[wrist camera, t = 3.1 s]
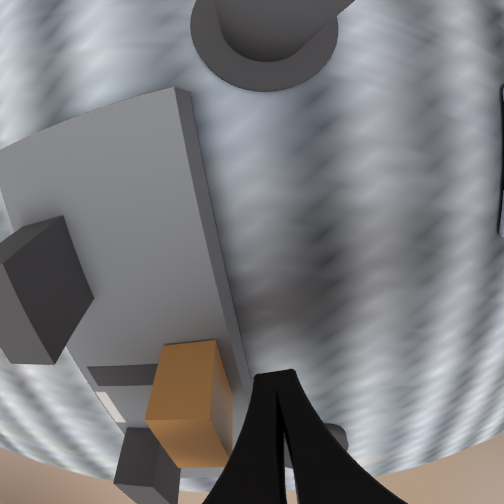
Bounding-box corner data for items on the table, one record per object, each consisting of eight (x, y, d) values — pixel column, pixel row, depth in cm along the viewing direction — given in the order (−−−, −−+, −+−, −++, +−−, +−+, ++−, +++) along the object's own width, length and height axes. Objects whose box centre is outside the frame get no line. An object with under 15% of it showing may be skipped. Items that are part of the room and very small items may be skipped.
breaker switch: (215, 339, 11) (209, 417, 8) (232, 395, 13) (232, 466, 10) (163, 345, 11) (144, 420, 8) (186, 399, 13) (178, 467, 10)
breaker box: (190, 92, 11) (135, 74, 5) (265, 435, 19) (272, 521, 13) (34, 141, 11) (-77, 180, 5) (165, 441, 19) (154, 522, 13)
